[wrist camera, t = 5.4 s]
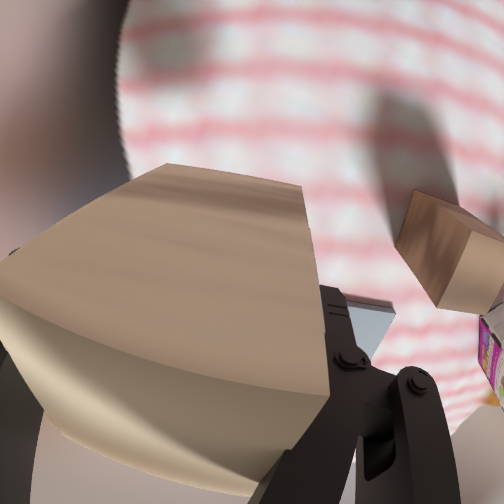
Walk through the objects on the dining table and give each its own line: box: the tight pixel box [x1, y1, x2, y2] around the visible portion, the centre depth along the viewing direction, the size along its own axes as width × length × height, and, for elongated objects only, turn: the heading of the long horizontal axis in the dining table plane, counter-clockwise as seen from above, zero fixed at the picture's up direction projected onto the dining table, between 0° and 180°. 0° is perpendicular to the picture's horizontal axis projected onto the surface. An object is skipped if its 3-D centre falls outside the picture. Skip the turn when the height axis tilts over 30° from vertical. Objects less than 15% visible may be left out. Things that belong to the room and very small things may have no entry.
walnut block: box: [395, 190, 504, 315], centre depth 20 cm, size 6×6×10 cm
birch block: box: [0, 163, 330, 497], centre depth 9 cm, size 6×6×10 cm
